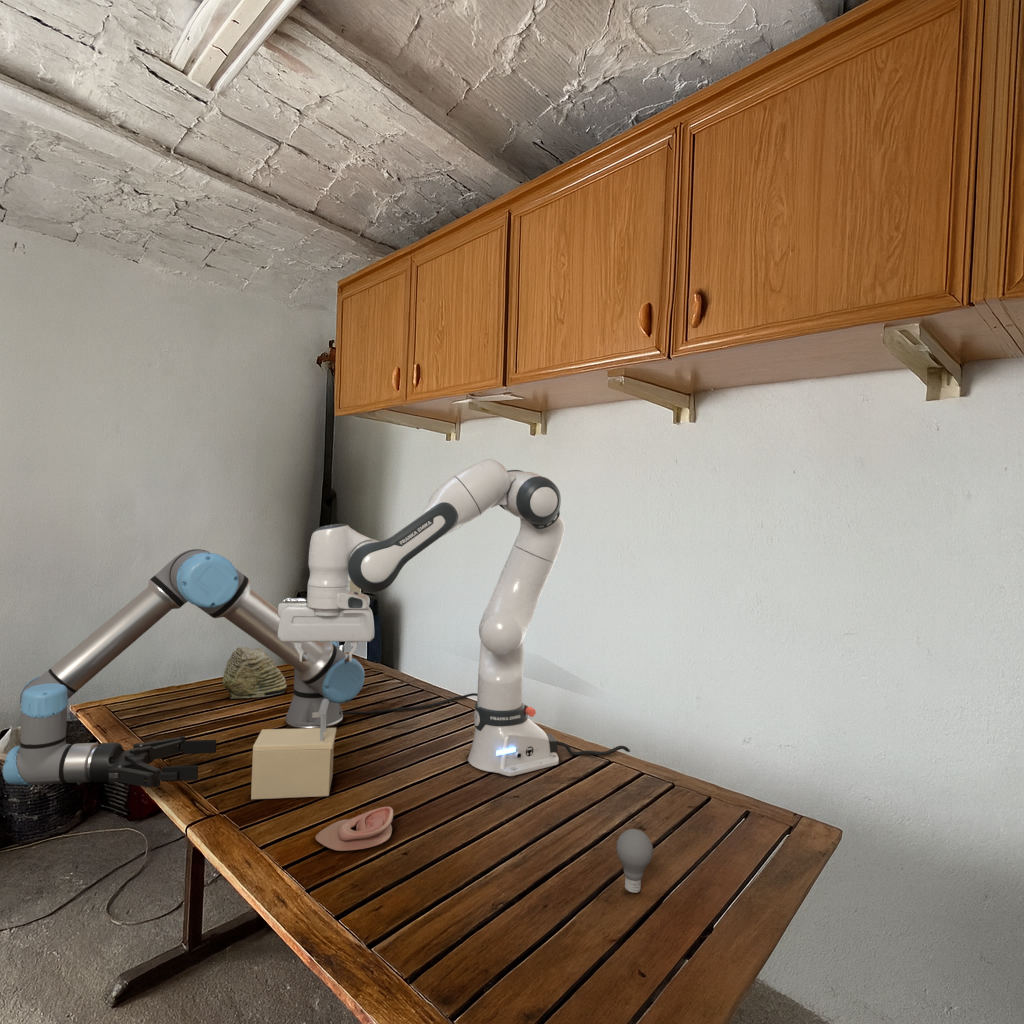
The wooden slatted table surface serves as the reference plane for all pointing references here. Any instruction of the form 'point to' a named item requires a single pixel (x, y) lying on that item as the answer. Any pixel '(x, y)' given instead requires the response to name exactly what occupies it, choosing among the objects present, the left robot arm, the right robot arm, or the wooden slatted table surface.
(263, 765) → the chest
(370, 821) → the anatomical model
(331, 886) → the wooden slatted table surface
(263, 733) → the lid
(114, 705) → the wooden slatted table surface
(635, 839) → the light bulb
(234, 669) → the fossil
